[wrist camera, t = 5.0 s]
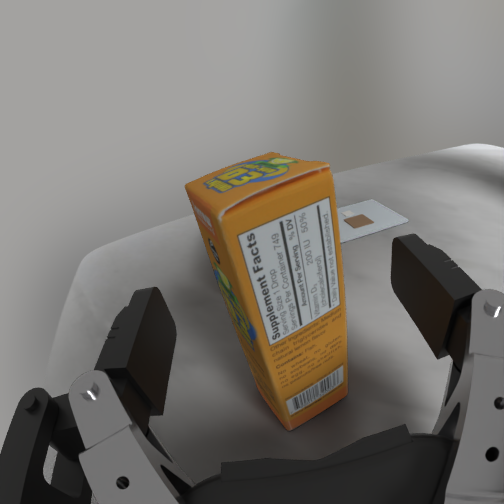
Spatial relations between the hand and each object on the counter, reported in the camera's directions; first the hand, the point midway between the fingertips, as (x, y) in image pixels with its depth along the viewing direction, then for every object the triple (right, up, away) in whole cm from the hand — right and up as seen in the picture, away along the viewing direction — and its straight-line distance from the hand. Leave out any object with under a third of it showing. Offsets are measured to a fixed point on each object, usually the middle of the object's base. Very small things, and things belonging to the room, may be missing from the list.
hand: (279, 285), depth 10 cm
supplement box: (+1, -6, +3) cm, 6 cm away
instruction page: (+8, +4, +16) cm, 19 cm away
